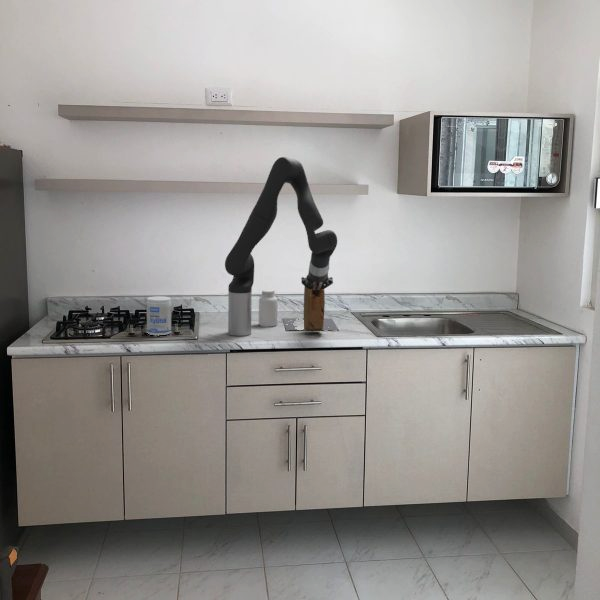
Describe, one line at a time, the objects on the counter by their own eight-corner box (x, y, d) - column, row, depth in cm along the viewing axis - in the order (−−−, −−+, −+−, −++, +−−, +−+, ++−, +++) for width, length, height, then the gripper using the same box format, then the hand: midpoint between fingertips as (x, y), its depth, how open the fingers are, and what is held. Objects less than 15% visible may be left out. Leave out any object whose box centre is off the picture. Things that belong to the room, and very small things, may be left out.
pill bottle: (259, 327, 312) (259, 292, 310) (257, 323, 320) (257, 288, 317) (278, 327, 314) (278, 291, 311) (275, 322, 321) (276, 288, 319)
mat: (286, 331, 306) (286, 330, 306) (282, 318, 330) (282, 318, 330) (339, 330, 308) (339, 330, 308) (331, 319, 332) (331, 318, 332)
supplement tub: (149, 337, 290) (148, 300, 288) (144, 332, 299) (143, 296, 296) (174, 336, 294) (173, 299, 291) (168, 331, 303) (167, 295, 300)
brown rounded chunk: (302, 331, 305) (302, 283, 309) (320, 332, 307) (320, 284, 310) (307, 328, 295) (307, 279, 298) (326, 329, 296) (326, 279, 299)
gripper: (335, 260, 287) (331, 285, 301) (301, 259, 286) (298, 285, 300) (336, 276, 283) (332, 300, 297) (302, 276, 282) (299, 300, 296)
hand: (315, 292), depth 299 cm, fingers closed
